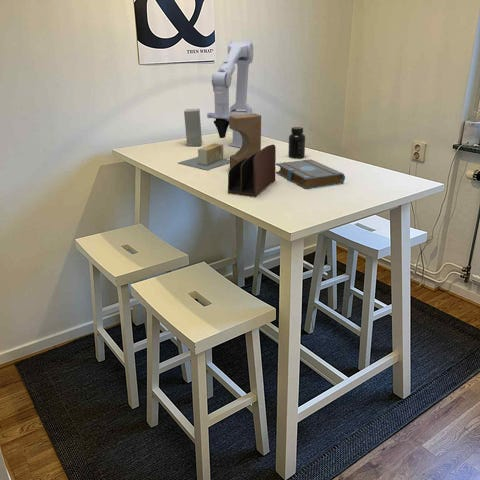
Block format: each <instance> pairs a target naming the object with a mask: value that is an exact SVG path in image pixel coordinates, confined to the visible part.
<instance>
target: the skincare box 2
mask: <svg viewBox="0 0 480 480" xmlns="http://www.w3.org/2000/svg"><path fill="white" fill-rule="evenodd" d="M224 153H225V152H224V144H222V143H216V142H214V143H212V144H209V145H206V146H205V145H204V146H203V147H200V148H197V157H198V164H201V165H209V164H212V163H214V162H217V161H219V160H222V159H225V158H224V156H225V155H224Z"/></svg>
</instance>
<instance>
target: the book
mask: <svg viewBox="0 0 480 480" xmlns="http://www.w3.org/2000/svg"><path fill="white" fill-rule="evenodd" d="M276 166H277V167H279V171H275V175H276V174H277V175H279V176H281V177H282V178H283V179H285V180H287V181H288V182H289V183H292V184H295V185H296V186H299V187H301V188H302V189H304V190H308V189H315V188H322V187H329V186H336V185H341V184H344V181H345V180H346V176H345V174H344V172H341V171H338V170H336V169H334V168H332V167H329V166H327V165H326V164H325V165H324V164H323V163H320V162H319V161H315V160H313V159H303V160H295V161H294V160H293V161H286V162H285V161H284V162H277V163H276Z"/></svg>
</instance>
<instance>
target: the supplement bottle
mask: <svg viewBox="0 0 480 480" xmlns="http://www.w3.org/2000/svg"><path fill="white" fill-rule="evenodd" d="M305 154H306V135H305V134H304V128H303V127H301V126H294V127H291V133H290V134H289V136H288V157H289V158H291V159H303V158H304V157H305V156H306V155H305Z"/></svg>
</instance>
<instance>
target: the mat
mask: <svg viewBox="0 0 480 480" xmlns="http://www.w3.org/2000/svg"><path fill="white" fill-rule="evenodd" d="M177 164H178V165H183V166H188V167H190V168H196V169H200V170H203V171H209V170H213V169H215V168H219V167H222V166H225V164H226V165H230V159H225V158H223V159H222V160H219V161H217V162H214V163H212V164H209V165H201V164H198V156H197V157H192V158H189V159H186V160H182V161H179V162H177Z"/></svg>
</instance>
